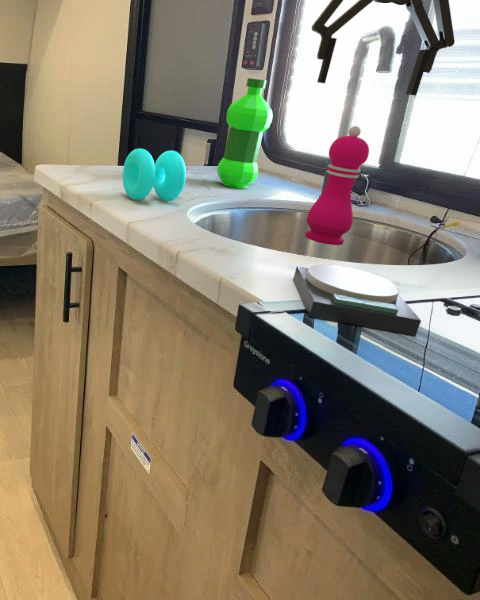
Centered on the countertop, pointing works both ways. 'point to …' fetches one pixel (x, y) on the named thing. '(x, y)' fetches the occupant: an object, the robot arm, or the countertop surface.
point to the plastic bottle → (245, 136)
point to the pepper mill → (338, 190)
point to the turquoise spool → (154, 175)
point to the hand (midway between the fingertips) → (365, 89)
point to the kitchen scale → (354, 298)
